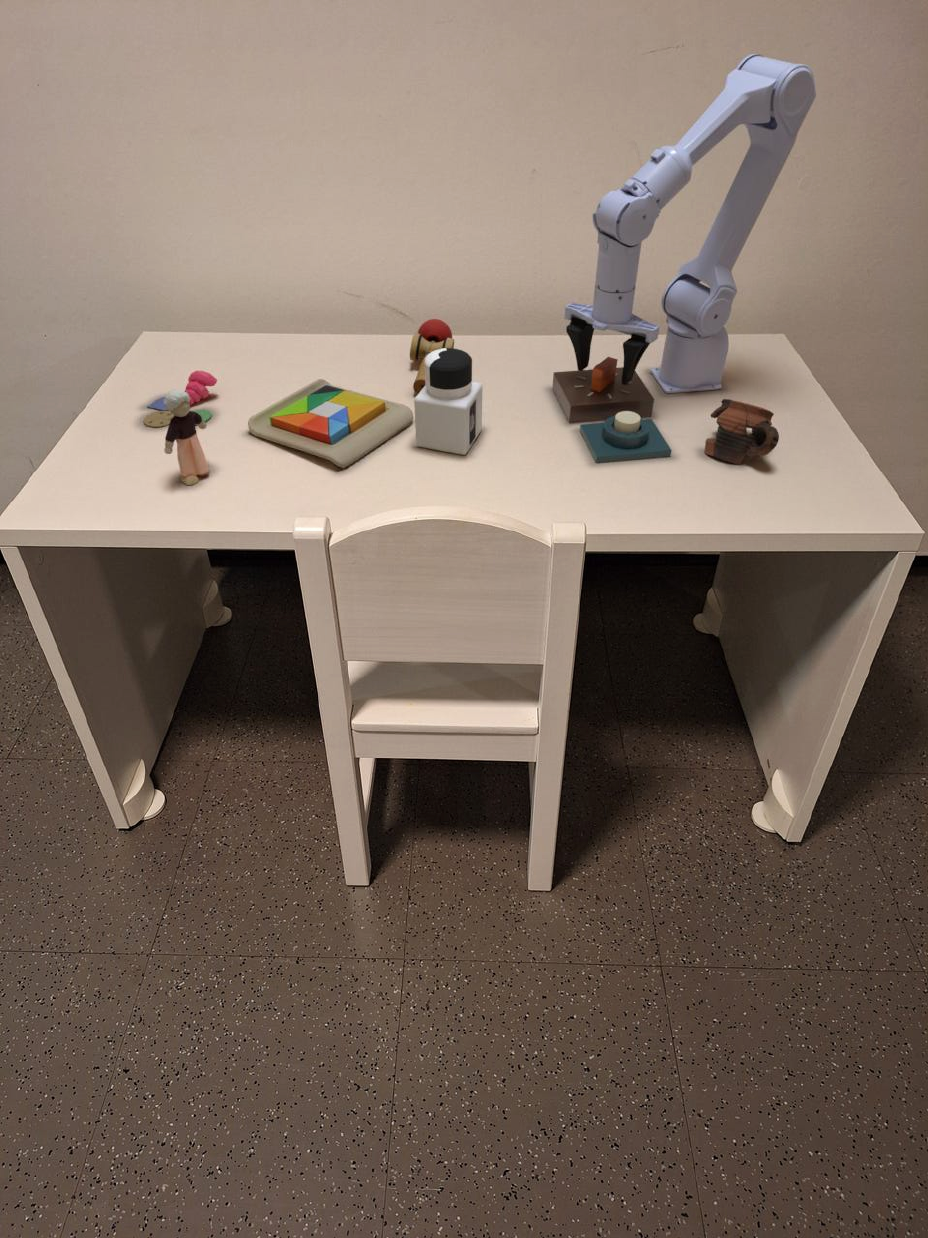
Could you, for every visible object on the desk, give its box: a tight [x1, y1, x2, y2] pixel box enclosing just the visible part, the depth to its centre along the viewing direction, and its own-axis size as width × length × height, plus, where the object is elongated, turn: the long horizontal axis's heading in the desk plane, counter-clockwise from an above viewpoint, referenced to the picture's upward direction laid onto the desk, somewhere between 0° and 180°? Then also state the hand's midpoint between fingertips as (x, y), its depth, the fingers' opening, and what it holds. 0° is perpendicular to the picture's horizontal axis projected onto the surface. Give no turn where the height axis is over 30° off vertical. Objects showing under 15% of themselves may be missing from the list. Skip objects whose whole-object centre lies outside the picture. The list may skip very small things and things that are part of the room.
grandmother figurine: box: [163, 389, 211, 486], centre depth 109 cm, size 8×4×13 cm, turn 164°
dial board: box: [551, 366, 655, 424], centre depth 127 cm, size 13×11×3 cm
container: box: [413, 348, 483, 456], centre depth 116 cm, size 8×8×13 cm
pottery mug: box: [703, 398, 780, 466], centre depth 116 cm, size 12×10×8 cm
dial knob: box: [591, 356, 618, 392], centre depth 124 cm, size 5×2×4 cm, turn 144°
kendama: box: [409, 318, 455, 395], centre depth 134 cm, size 8×6×18 cm
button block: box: [579, 415, 672, 464], centre depth 118 cm, size 11×9×3 cm
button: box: [614, 411, 642, 434], centre depth 116 cm, size 4×4×2 cm
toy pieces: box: [142, 370, 218, 428], centre depth 125 cm, size 12×11×4 cm
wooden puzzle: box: [247, 378, 414, 469], centre depth 121 cm, size 18×19×4 cm
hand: (604, 374), depth 125 cm, fingers open, 7 cm apart
